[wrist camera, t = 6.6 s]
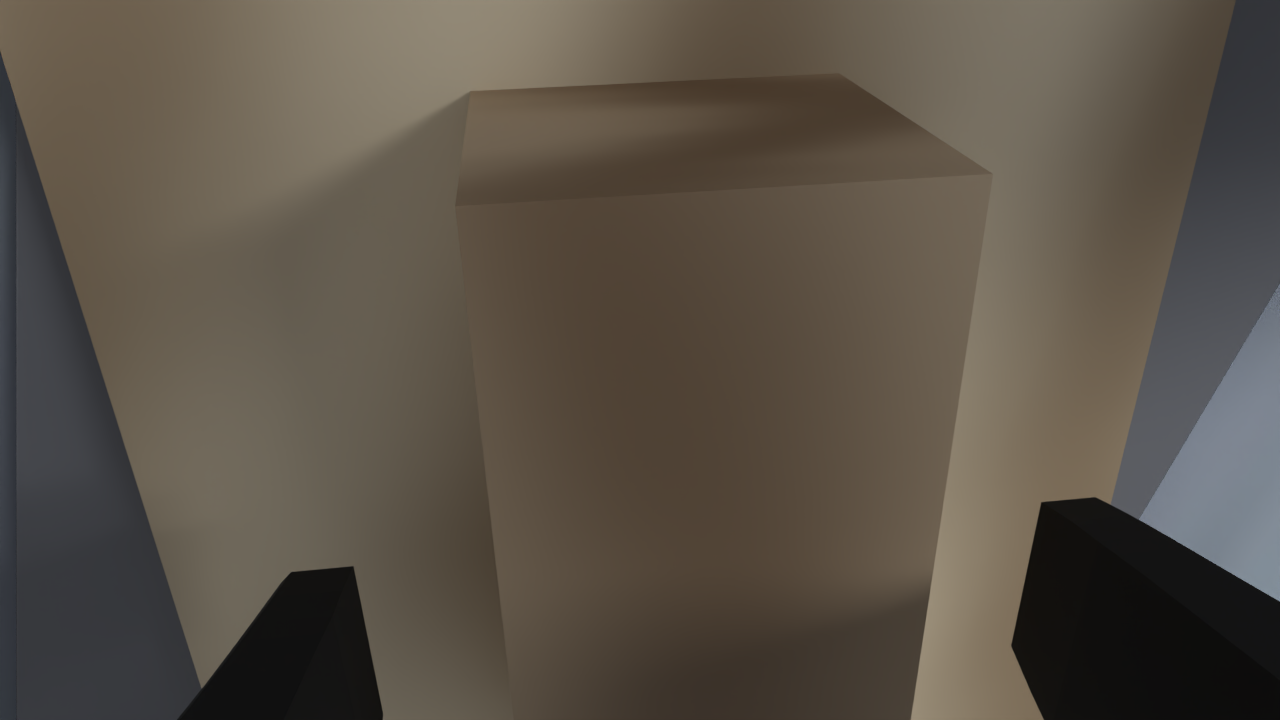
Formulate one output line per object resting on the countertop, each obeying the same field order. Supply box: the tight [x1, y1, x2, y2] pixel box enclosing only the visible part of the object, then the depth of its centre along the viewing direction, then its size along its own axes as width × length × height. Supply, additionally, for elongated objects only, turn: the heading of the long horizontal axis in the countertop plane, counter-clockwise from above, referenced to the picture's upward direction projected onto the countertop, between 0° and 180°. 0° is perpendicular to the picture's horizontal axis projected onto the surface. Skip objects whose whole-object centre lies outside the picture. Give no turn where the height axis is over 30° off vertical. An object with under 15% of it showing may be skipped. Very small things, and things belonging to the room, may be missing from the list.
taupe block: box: [0, 0, 1236, 720], centre depth 11 cm, size 13×13×5 cm
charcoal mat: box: [16, 0, 1280, 720], centre depth 14 cm, size 16×16×1 cm
